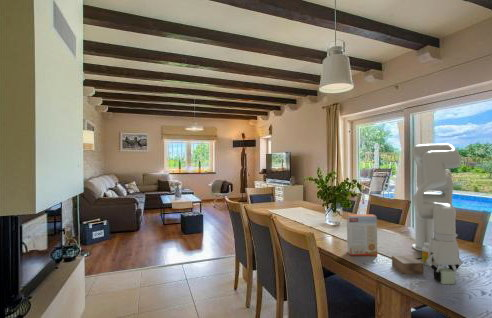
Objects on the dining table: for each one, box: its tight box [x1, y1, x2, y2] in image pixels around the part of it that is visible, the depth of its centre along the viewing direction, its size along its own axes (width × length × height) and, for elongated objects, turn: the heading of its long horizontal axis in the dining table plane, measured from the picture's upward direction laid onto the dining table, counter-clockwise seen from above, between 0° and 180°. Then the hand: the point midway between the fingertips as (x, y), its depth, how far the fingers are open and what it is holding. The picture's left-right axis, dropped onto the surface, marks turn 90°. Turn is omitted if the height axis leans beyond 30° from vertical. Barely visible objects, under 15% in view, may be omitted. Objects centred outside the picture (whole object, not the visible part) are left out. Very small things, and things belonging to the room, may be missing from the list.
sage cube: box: [439, 265, 456, 285], centre depth 109 cm, size 5×5×5 cm
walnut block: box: [391, 255, 425, 275], centre depth 121 cm, size 9×9×5 cm
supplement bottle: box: [421, 243, 433, 267], centre depth 127 cm, size 5×5×10 cm
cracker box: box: [346, 213, 378, 257], centre depth 141 cm, size 14×6×21 cm, turn 84°
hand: (444, 279), depth 109 cm, fingers closed on sage cube, 5 cm apart
